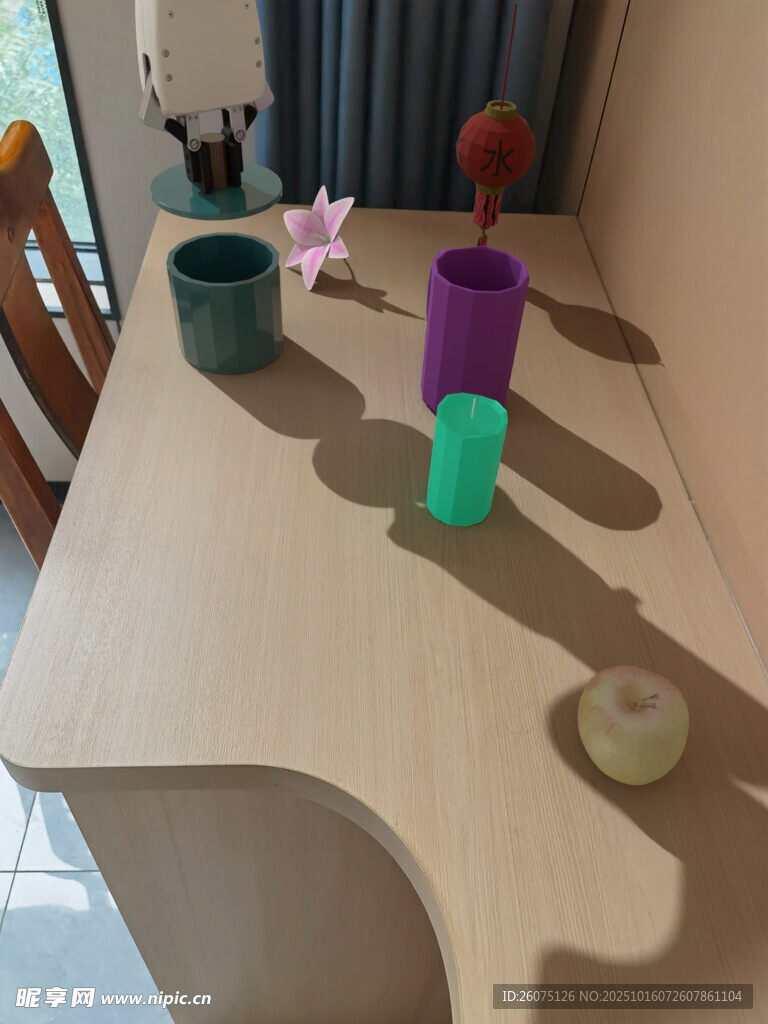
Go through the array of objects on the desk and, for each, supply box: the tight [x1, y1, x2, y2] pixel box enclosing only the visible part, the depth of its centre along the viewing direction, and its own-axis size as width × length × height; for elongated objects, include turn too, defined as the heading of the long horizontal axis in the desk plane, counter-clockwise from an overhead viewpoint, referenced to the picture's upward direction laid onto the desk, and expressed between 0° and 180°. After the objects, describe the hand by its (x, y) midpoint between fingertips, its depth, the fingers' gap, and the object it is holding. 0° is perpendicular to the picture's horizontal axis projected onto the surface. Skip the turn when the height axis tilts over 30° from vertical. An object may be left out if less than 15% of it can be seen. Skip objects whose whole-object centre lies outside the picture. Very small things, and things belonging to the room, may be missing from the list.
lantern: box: [455, 2, 537, 247], centre depth 95 cm, size 10×10×30 cm
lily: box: [283, 185, 355, 291], centre depth 100 cm, size 12×12×10 cm
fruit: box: [577, 665, 690, 786], centre depth 54 cm, size 8×7×8 cm
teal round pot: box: [165, 231, 284, 375], centre depth 86 cm, size 11×11×10 cm
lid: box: [149, 131, 284, 222], centre depth 75 cm, size 12×12×6 cm
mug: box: [420, 245, 531, 414], centre depth 82 cm, size 9×16×15 cm, turn 18°
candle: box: [426, 393, 509, 527], centre depth 69 cm, size 6×6×12 cm
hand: (216, 183), depth 76 cm, fingers closed on lid, 2 cm apart
